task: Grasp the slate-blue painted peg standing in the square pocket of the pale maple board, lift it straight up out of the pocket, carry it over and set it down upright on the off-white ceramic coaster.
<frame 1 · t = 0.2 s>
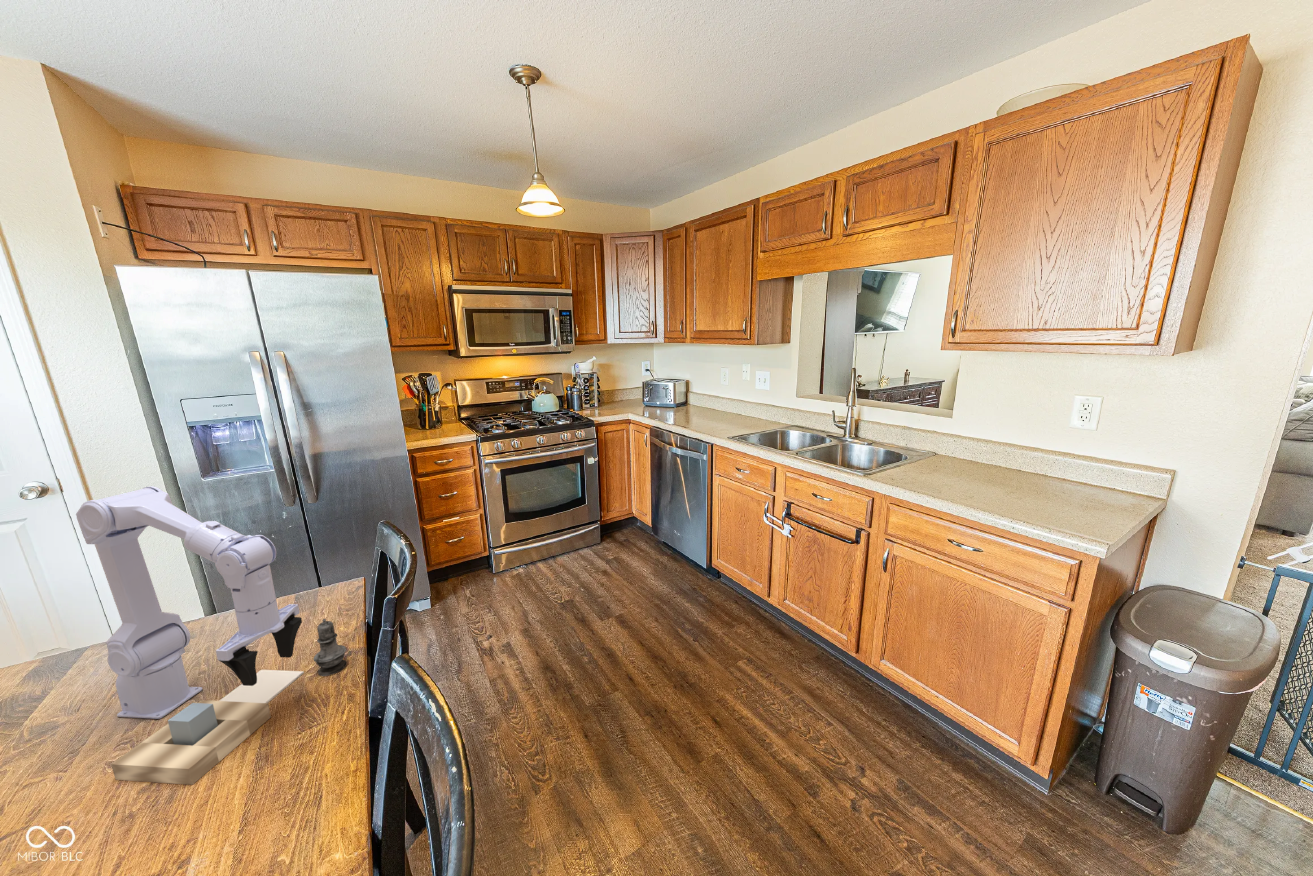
hand: (269, 669, 87), 10 cm above the table, fingers open, 7 cm apart
peg: (195, 729, 81), in the pocket board
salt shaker: (332, 668, 102), on the table
pocket board: (199, 746, 82), on the table
coaster: (261, 688, 96), on the table
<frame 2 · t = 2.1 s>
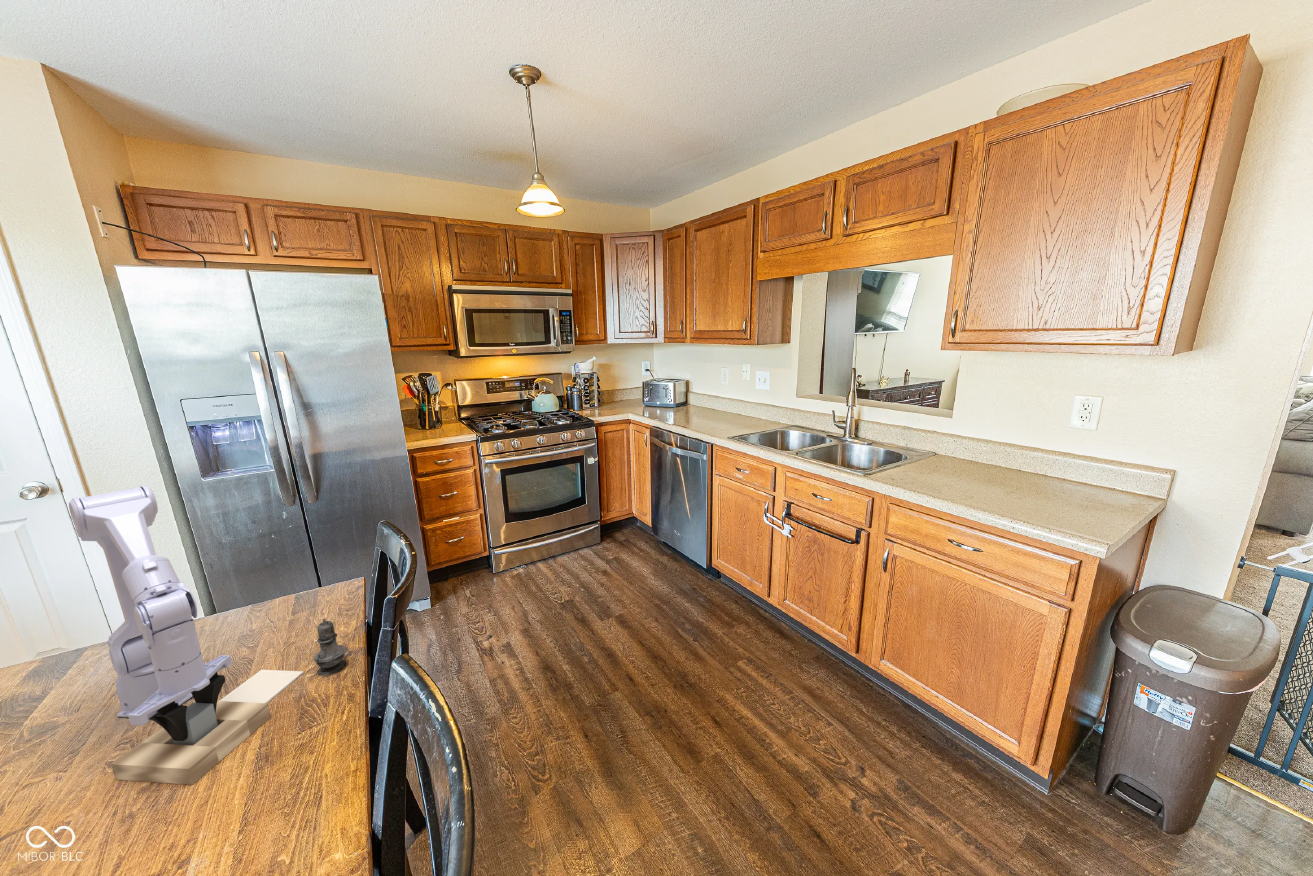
hand: (194, 728, 81), 4 cm above the table, fingers closed on peg, 4 cm apart
peg: (195, 729, 81), in the pocket board, touching gripper
everything else where it was.
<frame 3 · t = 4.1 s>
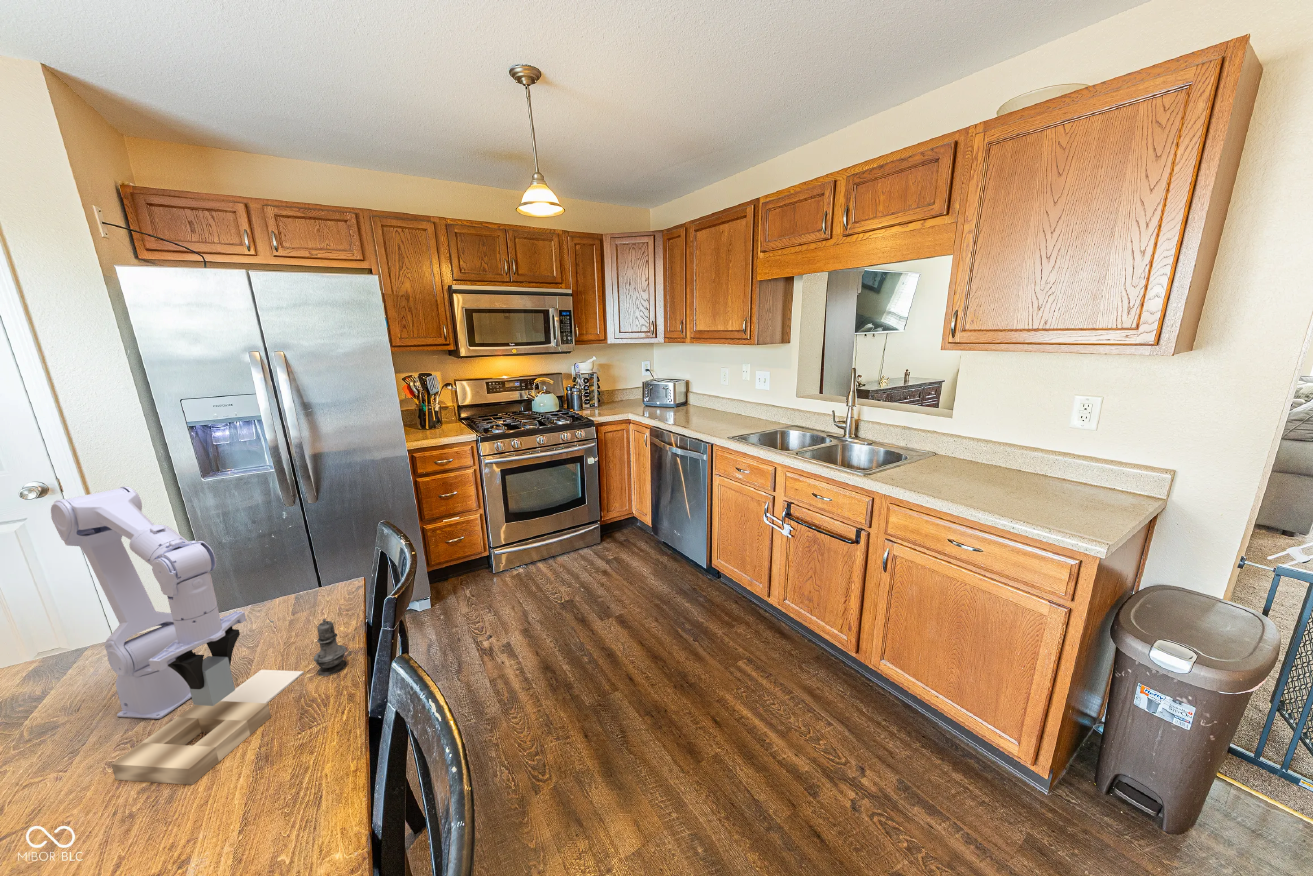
hand: (210, 678, 85), 10 cm above the table, fingers closed on peg, 4 cm apart
peg: (210, 680, 85), point 10 cm above the table, touching gripper
everything else where it was.
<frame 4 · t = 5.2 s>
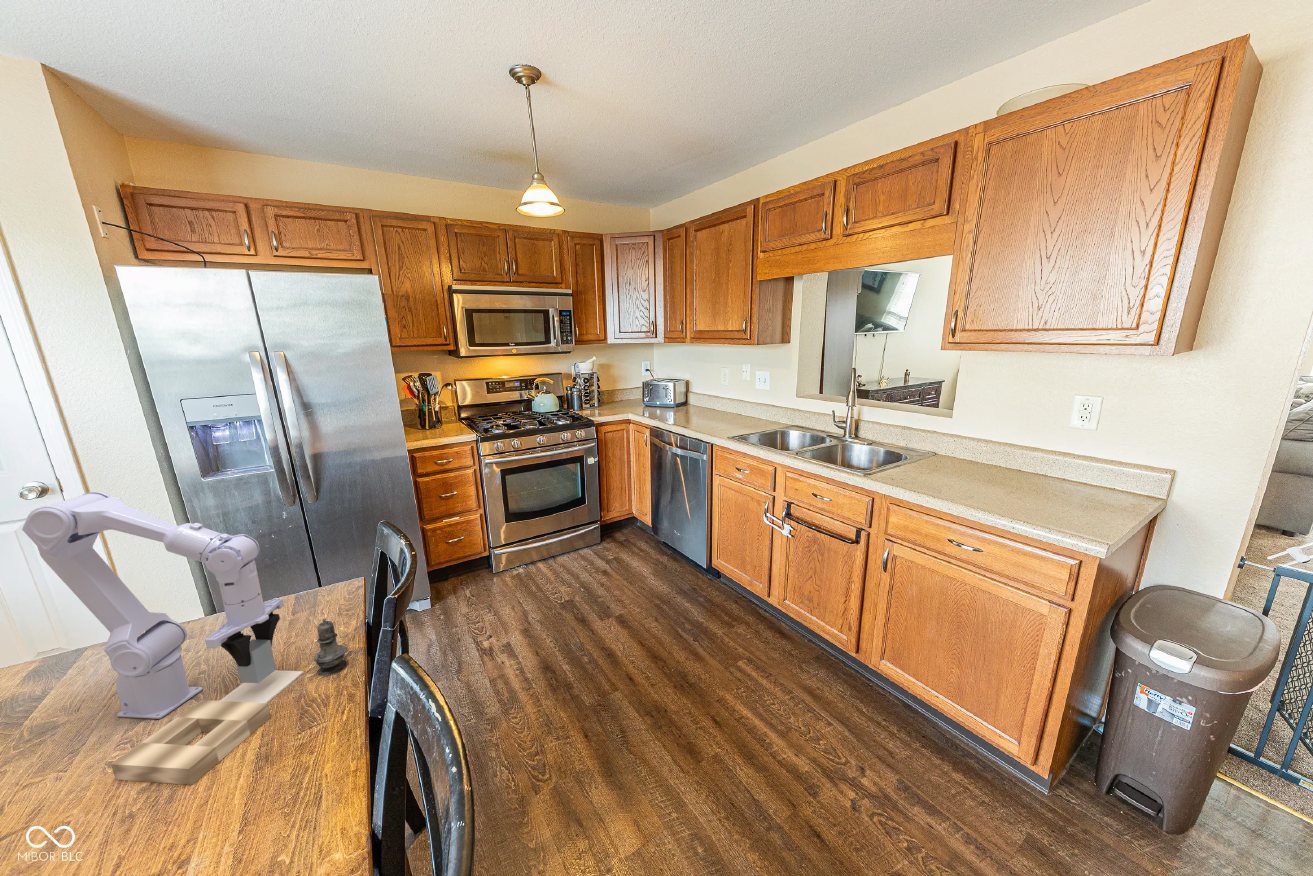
hand: (255, 657, 94), 7 cm above the table, fingers closed on peg, 4 cm apart
peg: (255, 661, 95), point 6 cm above the table, touching gripper
everything else where it was.
when the fingers open (5 cm above the table, at t = 6.0 s): peg stays where it is, resting on coaster.
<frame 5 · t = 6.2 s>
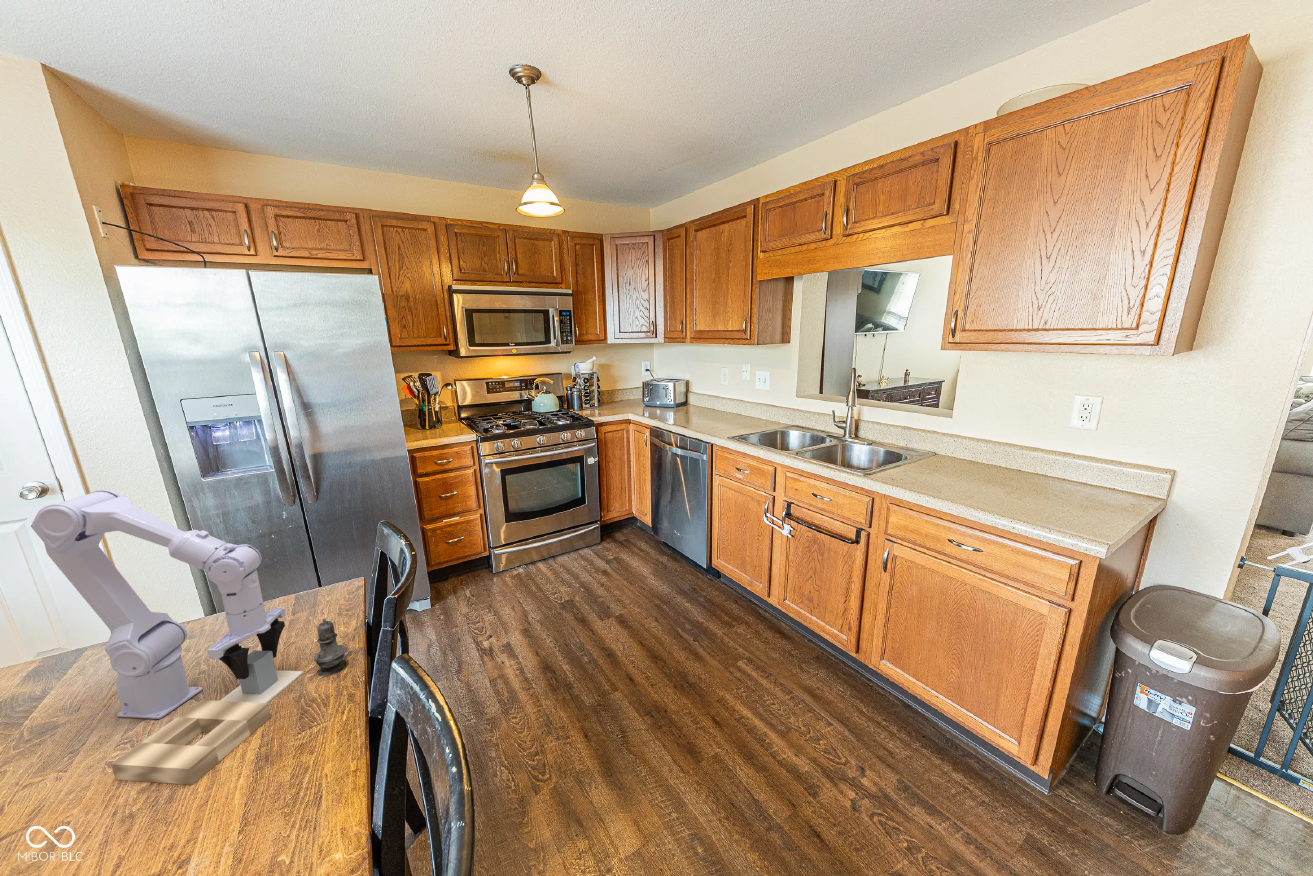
hand: (257, 667, 95), 5 cm above the table, fingers open, 6 cm apart
peg: (257, 672, 95), on the coaster
everything else where it was.
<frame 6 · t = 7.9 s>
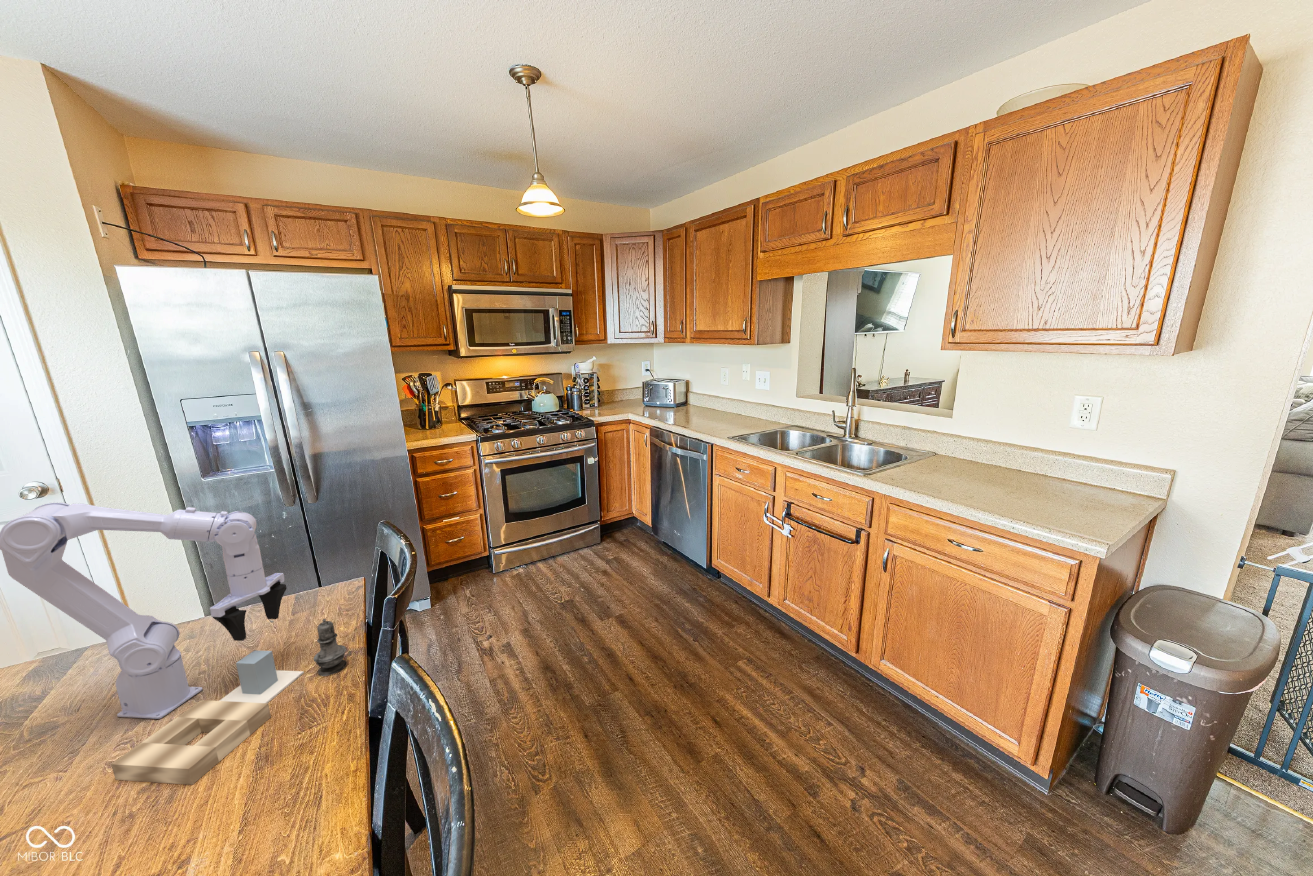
hand: (257, 628, 99), 10 cm above the table, fingers open, 7 cm apart
nothing on the table moved.
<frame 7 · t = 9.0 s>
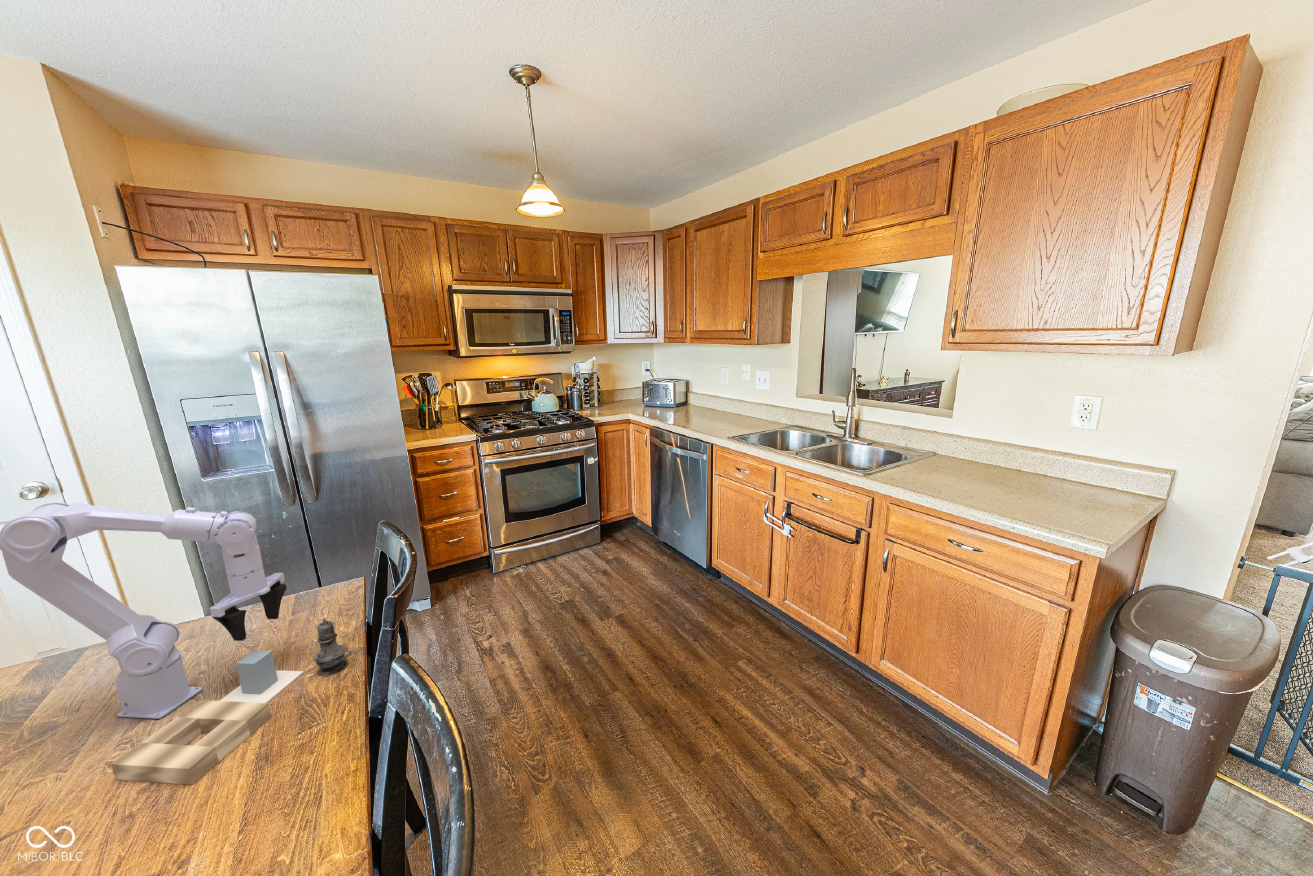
hand: (257, 628, 99), 10 cm above the table, fingers open, 7 cm apart
nothing on the table moved.
at the end: peg inside the target area on the coaster (0.1 cm from its centre), point 3.9 cm above the coaster's base; peg tilted 0°; the gripper is holding nothing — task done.
